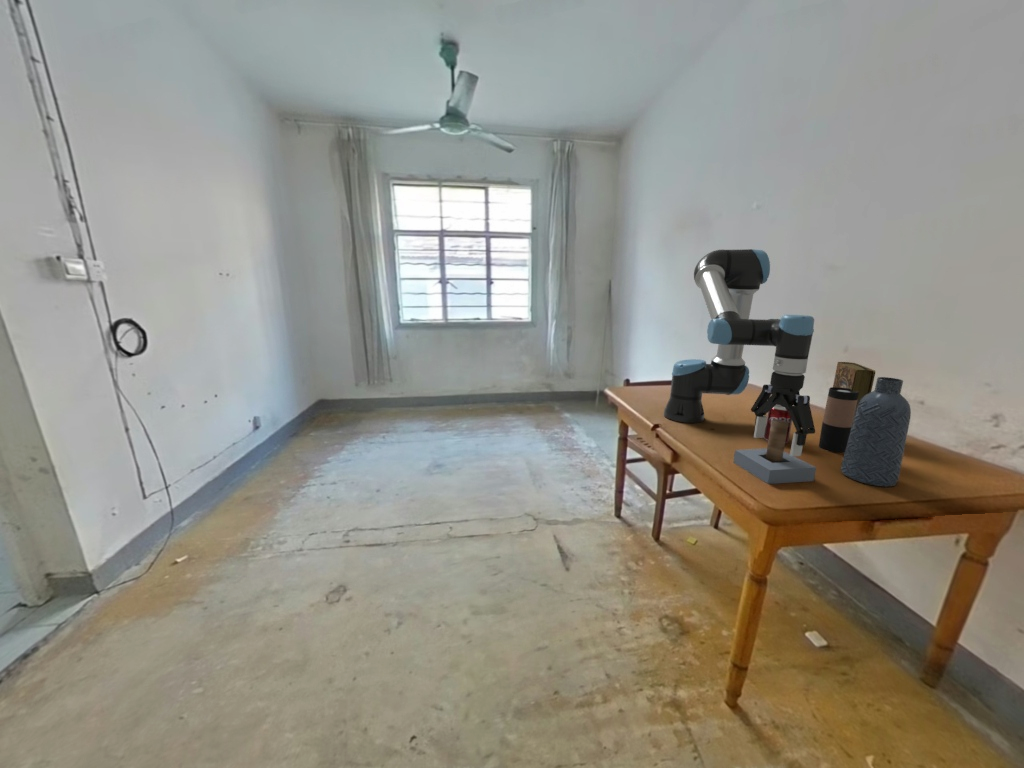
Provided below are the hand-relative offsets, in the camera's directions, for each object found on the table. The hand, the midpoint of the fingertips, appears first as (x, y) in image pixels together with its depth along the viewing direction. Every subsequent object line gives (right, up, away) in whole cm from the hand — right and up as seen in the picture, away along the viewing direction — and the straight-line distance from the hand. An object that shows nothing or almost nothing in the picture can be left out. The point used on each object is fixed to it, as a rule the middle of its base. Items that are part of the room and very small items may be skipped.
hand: (775, 446), depth 116 cm
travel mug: (+31, -4, +19) cm, 36 cm away
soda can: (+17, -2, +26) cm, 31 cm away
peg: (0, -7, +2) cm, 8 cm away
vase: (+25, -9, -1) cm, 26 cm away
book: (+46, 0, +34) cm, 57 cm away
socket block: (0, -7, +2) cm, 8 cm away
